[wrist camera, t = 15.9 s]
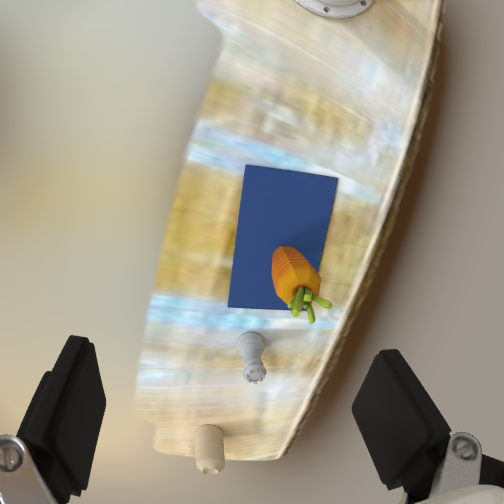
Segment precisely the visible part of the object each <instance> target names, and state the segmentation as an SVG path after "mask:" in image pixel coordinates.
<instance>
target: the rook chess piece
mask: <svg viewBox="0 0 504 504" xmlns="http://www.w3.org/2000/svg"><path fill="white" fill-rule="evenodd" d="M235 344H236V350H237V352H238V354H239V355H240V356H241V357H242V358H243V360H244V363H245V364H244V369H245V370H244V371H243V376H244V377H245V378H246V379H247V380H248V382H249V383H251V382H252V381H253V383H254V384H257V381H260V382H262V381H263V378H265V375H266V369H265V367H263V362H262V361H261V354H262V352H263V351H264V340H263V338H262V337H261V336H260V335H258V334H256V333H252V332H251V333H245V334H242V335H241V336H240V337H239V338H238V339H237V341H236V343H235Z"/></svg>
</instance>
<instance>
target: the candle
mask: <svg viewBox="0 0 504 504" xmlns="http://www.w3.org/2000/svg"><path fill="white" fill-rule="evenodd" d="M196 467H197V468H198V469H199V470H200V471H202V472H203V473H204V474H208V475H212V474H218V473H219V472H220V471H221V470H222V469H223V468H224V467H225V458H224V444H223V432H222V430H221V429H220V428H219V427H217V426H214V425H203V426H200V427H199V428H197V430H196Z"/></svg>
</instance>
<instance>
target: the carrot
mask: <svg viewBox="0 0 504 504" xmlns="http://www.w3.org/2000/svg"><path fill="white" fill-rule="evenodd" d="M272 279H273V283H274V287H275V290H276V294H277V295H278V296H279V297H280V298H281V299H282V300H283V301H284V302H285V303H286V304H287V305H288V306H287V307H288V308H292V311H291V314H292V315H293V316H295V317H298V316H299V314H300V312H301V309H302V306H303V307H304V308H307V312H308V317H309V322H310V324H312V323H314V322H315V315H314V312H313V308H312V305H311V303H310V302H311V301H312V300H314V301H316V302H317V303H318V304H320V305H321V306H323V307H325V308H327V309H330V308H331V306H332V303H330V302H329V301H327V300H324V299H322V298H321V297H319V296H318V295H319V289H320V283H321V278H320V276H319V275H318V273H317V272H316V270H315V269H314V268H313V266H312V265H311V264H310V263H309V262H308V261H307V259H306V258H305V257H304V256H303V255H302V254H301V253H300V252H299V251H297V250H296V249H295V248H293V247H291V246H280V247H279V248H277V249H276V250H275V251H274V253H273V259H272Z"/></svg>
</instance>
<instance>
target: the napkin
mask: <svg viewBox="0 0 504 504" xmlns="http://www.w3.org/2000/svg"><path fill="white" fill-rule="evenodd" d="M337 180H338V178H335V177H329V176H322V175H316V174H310V173H303V172H296V171H289V170H282V169H275V168H267V167H259V166H251V165H246V166H245V173H244V181H243V188H242V196H241V204H240V211H239V219H238V227H237V235H236V243H235V251H234V259H233V267H232V275H231V283H230V292H229V300H228V307H233V308H251V309H271V310H292V308H288V307H287V306H288V305H287V304H286V303H285V302H284V301H283V300H282V299H281V298H280V297H279V296H278V295H277V294H276V290H275V287H274V283H273V279H272V259H273V253H274V251H275V250H276V249H277V248H279V247H280V246H291V247H293V248H295V249H296V250H297V251H299V252H300V253H301V254H302V255H303V256H304V257H305V258H306V259H307V261H308V262H309V263H310V264H311V265H312V266H313V268H314V269H315V270H316V272H317V273H318V269H319V264H320V260H321V256H322V252H323V247H324V243H325V238H326V234H327V229H328V225H329V220H330V215H331V210H332V206H333V201H334V196H335V191H336V186H337ZM301 311H307V308H304V307H303V306H302V309H301Z"/></svg>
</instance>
